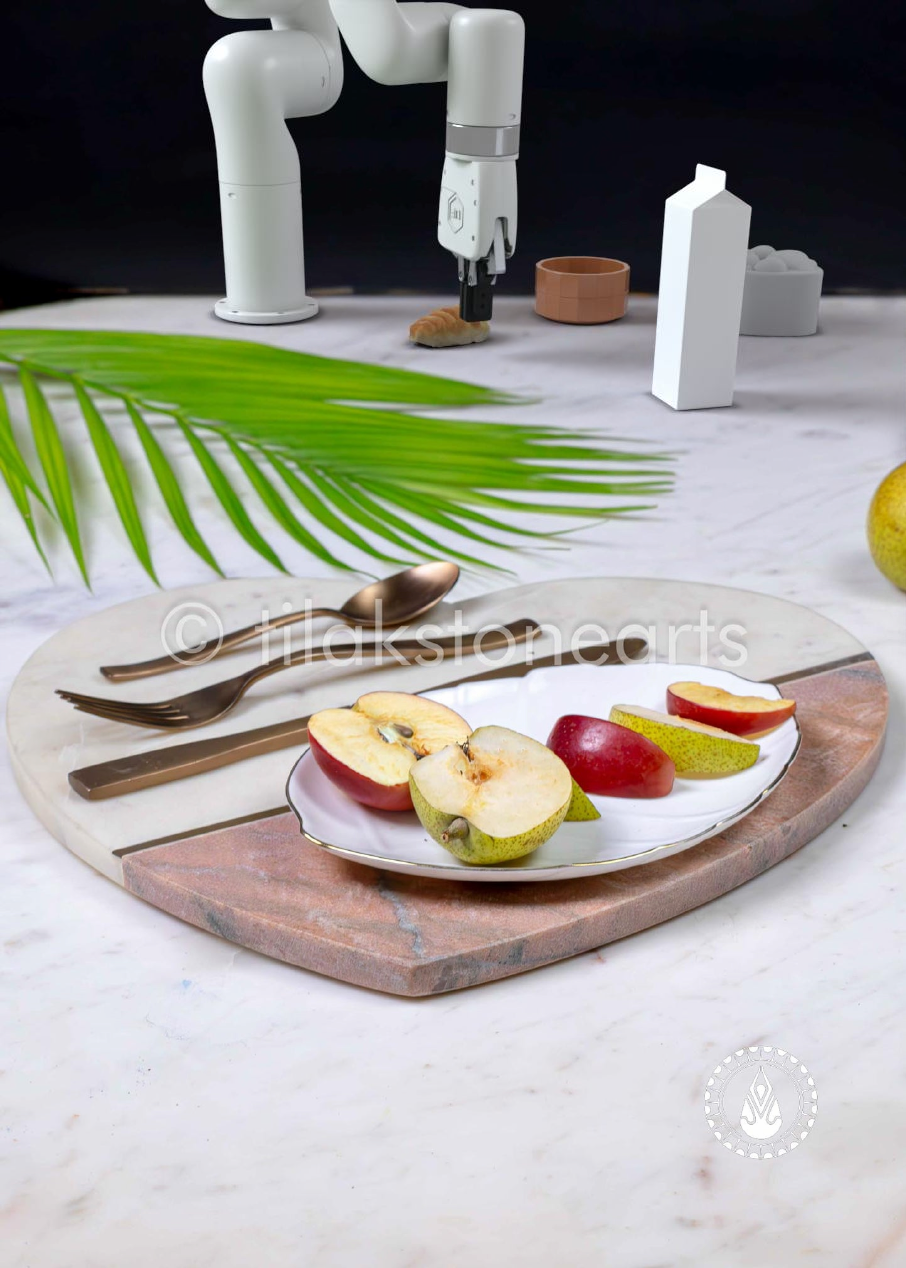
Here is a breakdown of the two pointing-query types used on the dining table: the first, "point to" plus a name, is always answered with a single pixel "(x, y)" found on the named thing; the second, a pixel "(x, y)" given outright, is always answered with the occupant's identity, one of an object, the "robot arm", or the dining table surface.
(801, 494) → the dining table surface
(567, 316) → the bowl
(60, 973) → the dining table surface
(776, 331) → the lumpy-topped squat cylinder
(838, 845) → the dining table surface
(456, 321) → the pastry
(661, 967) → the dining table surface
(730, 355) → the milk
